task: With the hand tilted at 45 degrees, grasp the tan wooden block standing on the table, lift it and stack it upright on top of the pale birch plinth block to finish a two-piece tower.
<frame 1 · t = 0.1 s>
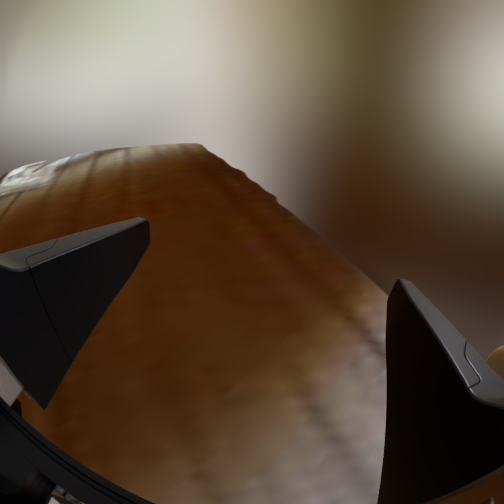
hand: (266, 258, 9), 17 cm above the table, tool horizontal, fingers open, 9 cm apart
snail figurine: (459, 418, 19), on the table
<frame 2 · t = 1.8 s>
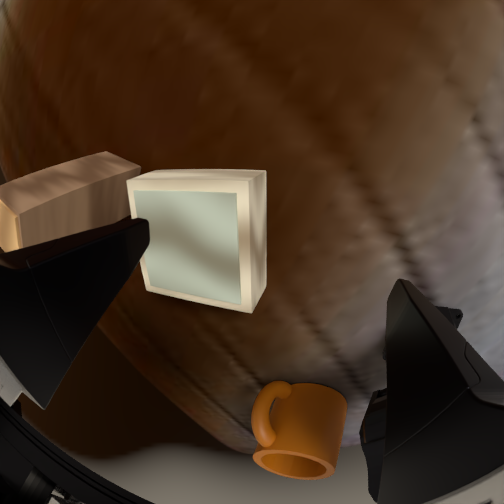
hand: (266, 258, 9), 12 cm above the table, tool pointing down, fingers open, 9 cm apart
tan wooden block: (118, 181, 25), on the table
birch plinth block: (209, 227, 24), on the table
mug: (305, 395, 30), on the table
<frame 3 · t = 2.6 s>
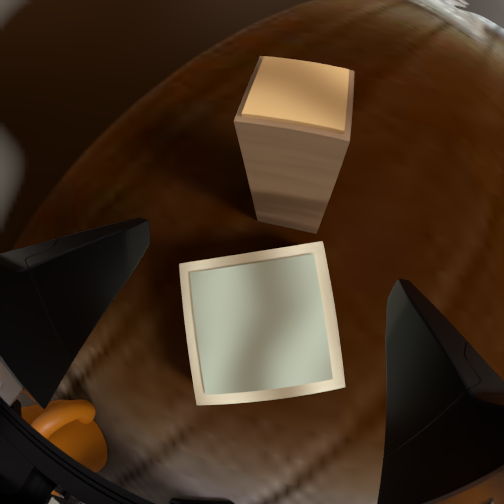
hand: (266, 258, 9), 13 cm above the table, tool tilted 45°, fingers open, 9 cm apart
tan wooden block: (292, 200, 24), on the table
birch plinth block: (263, 326, 22), on the table
mug: (83, 430, 21), on the table
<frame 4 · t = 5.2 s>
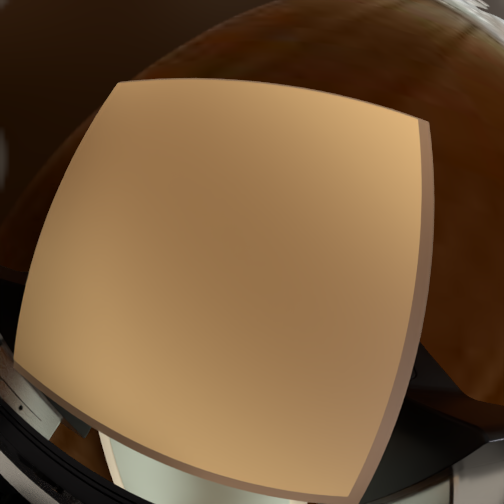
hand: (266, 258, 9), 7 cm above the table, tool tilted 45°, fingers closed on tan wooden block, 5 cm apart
tan wooden block: (265, 309, 15), on the table, touching gripper
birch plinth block: (218, 472, 13), on the table
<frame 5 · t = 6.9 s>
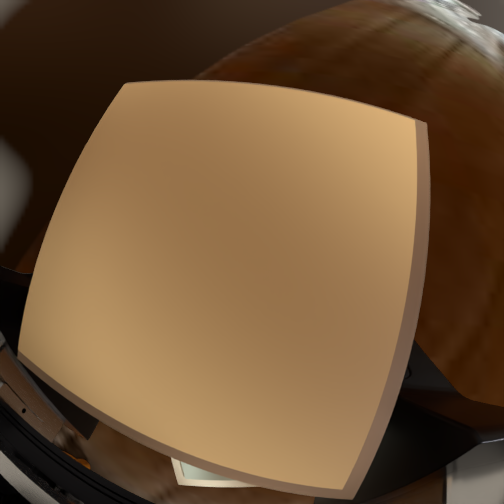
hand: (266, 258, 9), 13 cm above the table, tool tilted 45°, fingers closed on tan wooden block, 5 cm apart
tan wooden block: (267, 310, 16), point 6 cm above the table, touching gripper
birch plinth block: (241, 413, 20), on the table
when the fingers open (11 cm above the table, at t = 8.3 s): tan wooden block stays where it is, resting on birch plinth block.
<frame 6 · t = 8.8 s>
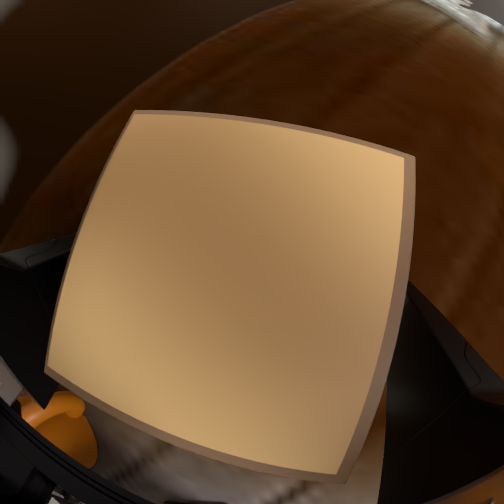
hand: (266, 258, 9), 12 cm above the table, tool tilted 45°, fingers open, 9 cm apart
tan wooden block: (264, 311, 16), point 4 cm above the table, touching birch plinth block
mug: (72, 426, 19), on the table
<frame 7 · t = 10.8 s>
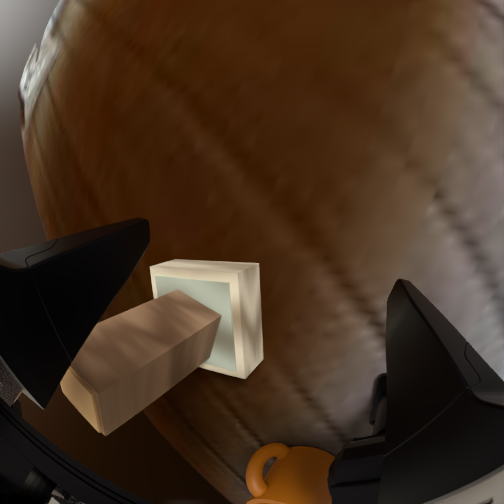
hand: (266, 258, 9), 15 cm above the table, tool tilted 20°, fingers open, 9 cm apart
tan wooden block: (193, 324, 25), point 4 cm above the table, touching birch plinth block
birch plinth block: (217, 308, 29), on the table
mug: (304, 458, 28), on the table
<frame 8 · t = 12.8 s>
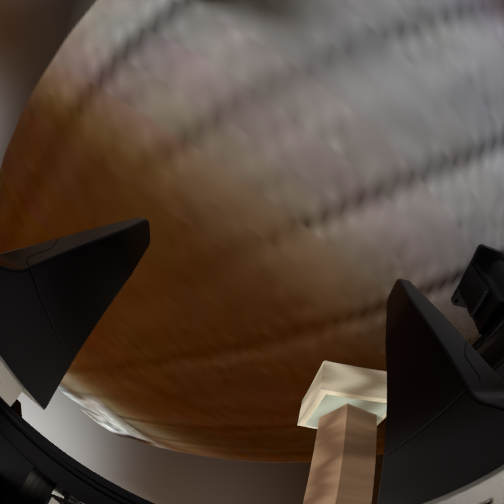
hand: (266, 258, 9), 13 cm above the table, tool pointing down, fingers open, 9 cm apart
tan wooden block: (347, 417, 28), point 4 cm above the table, touching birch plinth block
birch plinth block: (348, 389, 32), on the table
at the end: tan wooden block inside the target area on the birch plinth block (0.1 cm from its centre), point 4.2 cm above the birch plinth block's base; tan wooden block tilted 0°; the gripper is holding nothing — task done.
